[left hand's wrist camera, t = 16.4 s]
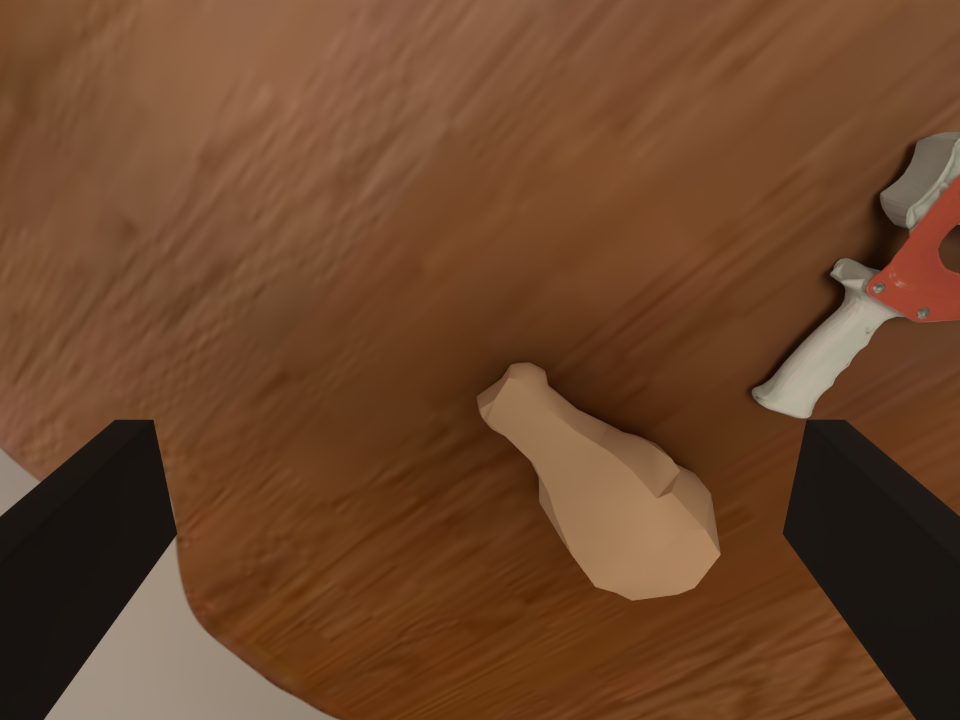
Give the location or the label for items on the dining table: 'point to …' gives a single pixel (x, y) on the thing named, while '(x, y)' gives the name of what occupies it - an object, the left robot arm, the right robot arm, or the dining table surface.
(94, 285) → the dining table surface
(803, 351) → the tape dispenser
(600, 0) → the dining table surface
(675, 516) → the squash
